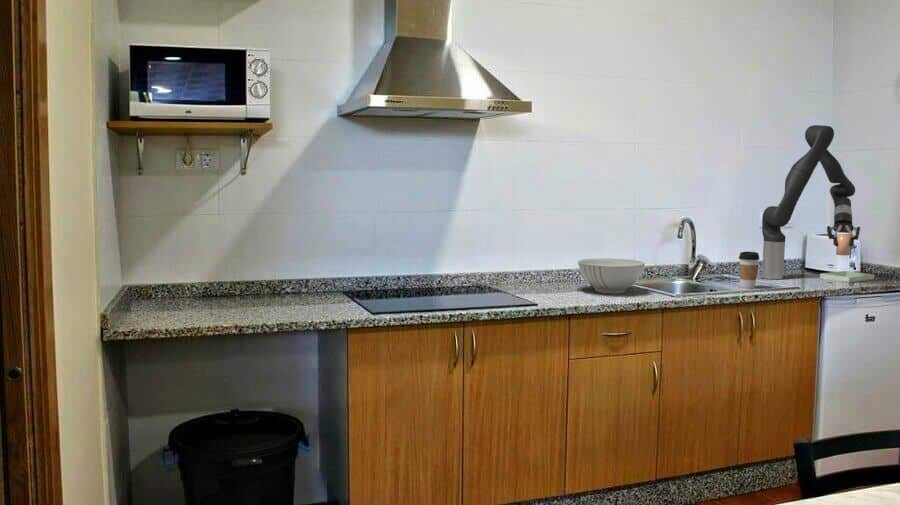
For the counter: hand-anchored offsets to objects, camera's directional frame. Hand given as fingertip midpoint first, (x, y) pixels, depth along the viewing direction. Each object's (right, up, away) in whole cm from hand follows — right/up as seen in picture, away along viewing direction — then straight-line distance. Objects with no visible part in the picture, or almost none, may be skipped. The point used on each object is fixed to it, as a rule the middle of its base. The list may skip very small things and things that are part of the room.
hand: (843, 245), depth 349 cm
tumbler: (+1, -4, +2) cm, 5 cm away
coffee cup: (-50, -18, -17) cm, 56 cm away
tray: (+6, -16, +9) cm, 19 cm away
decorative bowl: (-111, -19, -30) cm, 117 cm away
